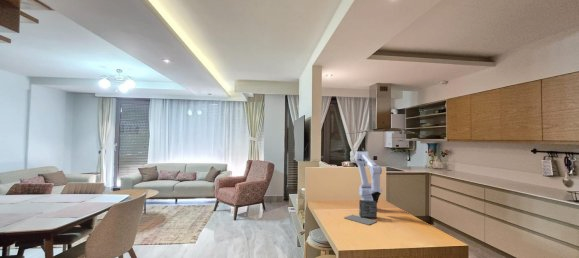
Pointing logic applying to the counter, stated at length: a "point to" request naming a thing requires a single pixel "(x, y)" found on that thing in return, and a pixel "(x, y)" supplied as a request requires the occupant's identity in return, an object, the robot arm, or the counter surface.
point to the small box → (368, 209)
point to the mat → (360, 219)
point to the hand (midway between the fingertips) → (375, 202)
